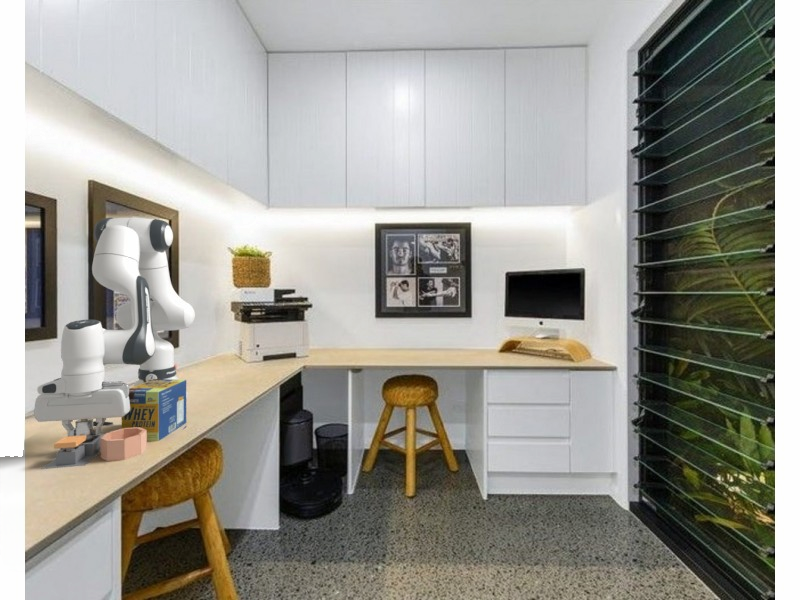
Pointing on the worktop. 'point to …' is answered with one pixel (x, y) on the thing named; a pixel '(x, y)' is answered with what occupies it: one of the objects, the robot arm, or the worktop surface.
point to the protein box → (157, 407)
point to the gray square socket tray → (77, 454)
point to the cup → (123, 443)
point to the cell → (85, 429)
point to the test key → (70, 442)
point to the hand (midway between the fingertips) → (84, 435)
